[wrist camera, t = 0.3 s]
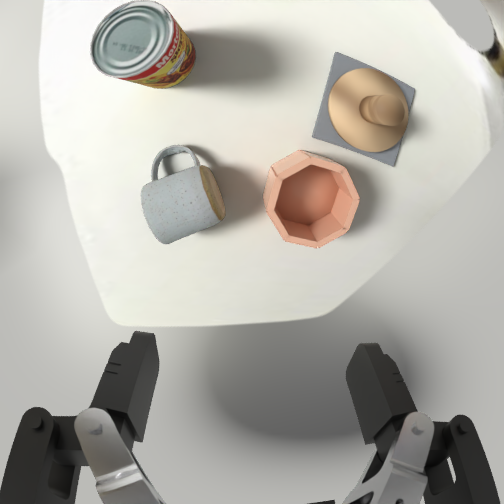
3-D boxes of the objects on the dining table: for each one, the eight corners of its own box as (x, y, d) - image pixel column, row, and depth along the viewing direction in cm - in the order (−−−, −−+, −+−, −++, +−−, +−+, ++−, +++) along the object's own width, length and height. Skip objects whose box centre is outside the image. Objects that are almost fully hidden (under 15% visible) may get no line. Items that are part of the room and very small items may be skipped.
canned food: (202, 76, 29) (182, 56, 18) (143, 97, 29) (98, 92, 19) (187, 24, 25) (163, -13, 14) (129, 46, 26) (84, 24, 15)
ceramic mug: (230, 209, 37) (227, 231, 30) (174, 230, 38) (160, 256, 31) (199, 133, 32) (187, 136, 25) (142, 159, 33) (118, 170, 26)
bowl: (276, 143, 33) (283, 148, 27) (350, 165, 34) (368, 175, 29) (256, 217, 37) (259, 235, 32) (326, 233, 38) (339, 253, 33)
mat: (334, 52, 27) (336, 51, 27) (412, 88, 29) (414, 88, 28) (311, 137, 32) (312, 137, 32) (391, 165, 34) (393, 166, 34)
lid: (339, 56, 27) (357, 46, 22) (411, 90, 29) (437, 89, 23) (317, 134, 32) (332, 138, 26) (391, 162, 33) (415, 171, 28)
